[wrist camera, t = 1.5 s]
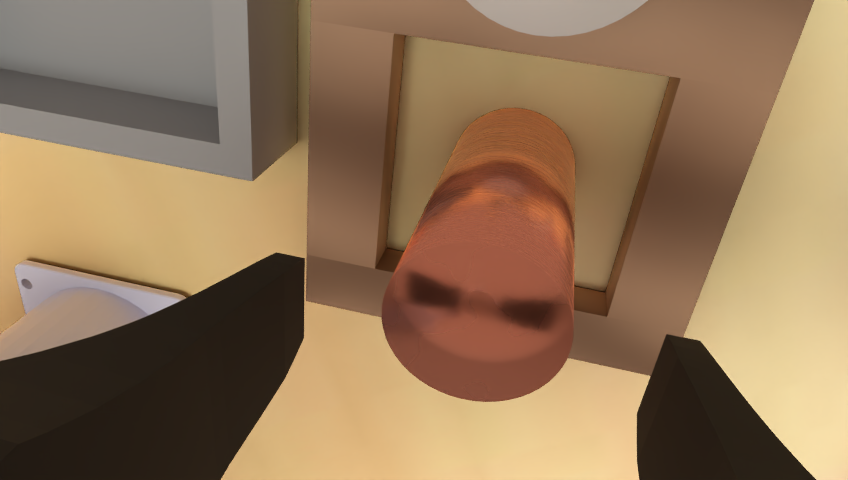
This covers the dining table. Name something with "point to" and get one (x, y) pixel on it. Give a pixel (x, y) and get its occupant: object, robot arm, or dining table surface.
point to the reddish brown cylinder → (491, 264)
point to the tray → (154, 79)
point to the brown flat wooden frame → (573, 41)
